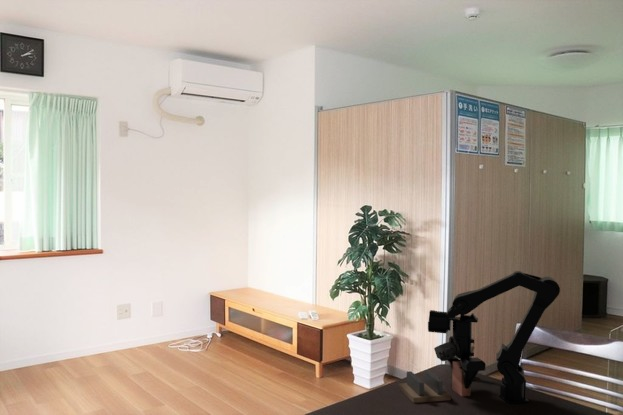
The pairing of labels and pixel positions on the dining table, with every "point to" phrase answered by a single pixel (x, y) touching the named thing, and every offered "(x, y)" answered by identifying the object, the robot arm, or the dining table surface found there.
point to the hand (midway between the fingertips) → (461, 384)
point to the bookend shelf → (424, 388)
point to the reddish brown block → (459, 380)
